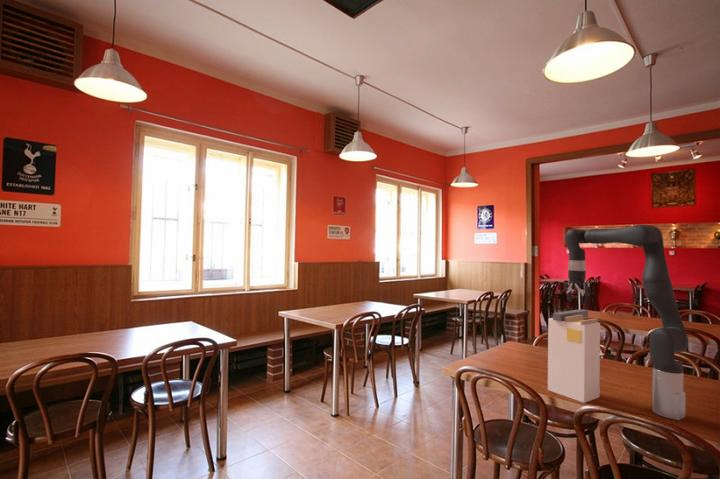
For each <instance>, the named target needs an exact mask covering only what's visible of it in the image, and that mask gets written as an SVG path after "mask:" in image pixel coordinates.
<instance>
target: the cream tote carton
mask: <svg viewBox="0 0 720 479" xmlns="http://www.w3.org/2000/svg"><path fill="white" fill-rule="evenodd" d="M598 319H599V318H591V319H584V318H583V316H582V315H575V316H568V317H565V321H556V320H553V317H549V318H548V323H547V324H548V326H547V327H548V328H547V331H548V332H547V335H548V336H547V391H550V392H552V393H556V394H558V395H561V396H564V397H567V398H568V399H569V398H570V399H573V400H575V401H578V402H580V403H583V404H585V403H587V402H590V401H593V400H595V399H598V398H600V385H601V384H600V383H601V382H600V378H601V377H600V376H601V375H600V373H601V371H600V366H601V362H600V361H601V359H600V358H601V356H600V353H601V322H599V320H598Z"/></svg>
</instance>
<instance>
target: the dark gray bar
mask: <svg viewBox="0 0 720 479" xmlns="http://www.w3.org/2000/svg"><path fill="white" fill-rule="evenodd" d="M575 315H582V316H583V319H584V318H588V317H589V310H587V309H573V310H572V309H571V310H566V311H565V310H564V311H558V312H552V318H553V320H556V321H565V317H568V316H575Z"/></svg>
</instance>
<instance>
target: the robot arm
mask: <svg viewBox="0 0 720 479" xmlns="http://www.w3.org/2000/svg"><path fill="white" fill-rule="evenodd" d="M565 243H566V247H567V250H568V264H567V265H568V266H567V268H568V269H567V270H568V271H567V272H568V275H567V277H568V278H567V279H565V280H564V281H563V292H564V293H566V294H567V295H566V300H567V301H568V302H573V292H574V291H578V292H579V293H580V294H581V304H582V305H587V303H588V296H592V286H591V285H592V284H591V282H586V277H587V265H586V264H587V263H586V250H585V249H584V248H582V247H581V246H580V244H593V245H595V244H597V245H598V244H599V245H600V244H601V245H604V244H605V245H606V244H616V243H618V244H626V245H631V246H635V247H639V248H642V250H643V254H644V259H645V262H644V263H645V264H644V267H643V272H642V276H641V282H642V287H643V290H644V294H645V297H646V298H647V300H648V302H649V303H650V304H651V305H652V307H653V308H654V309H655V311H656V312H657V313H658V315H659V318H660V319H661V324H662V328H661V327H660V328H655V329H653V330H652V331H651V332H650V335H649V356H650V358H649V359H650V361H651V363H652V406H651V407H652V412H653V413H654V414H655V415H658V416H660V417H663V418H668V419H673V420H676V421H680V420H682V419H684V418H686V391H684V366H683V364H682V363H681V362H678V361H677V360H676V357H675V353H682V352H685V351H686V350H687V349H688V347H689V337H688V334H687V331H686V328H685V326H684V323H683V321H682V318H681V314H680V311H679V308H678V304H677V301H676V297H675V292H674V287H673V283H672V278H671V276H670V272H669V268H668V263H667V260H666V254H665V245H664V238H663V232H662V231H661V230H660V228H658V227H657V226H656V225H651V224H637V225H632V226H627V227H626V226H625V227H619V228H590V229H583V228H582V229H580V228H578V229H577V228H570V229H568V231H567V232H566V233H565ZM568 279H569V280H568Z"/></svg>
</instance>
